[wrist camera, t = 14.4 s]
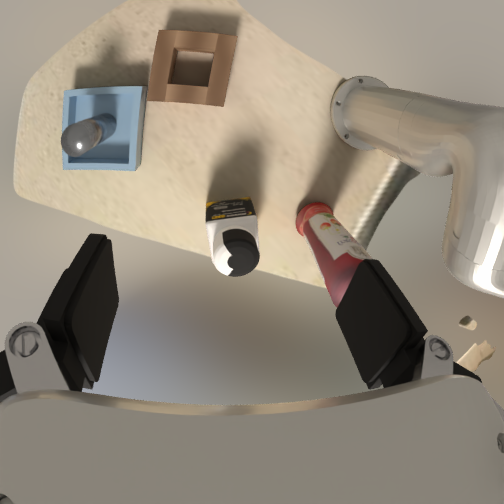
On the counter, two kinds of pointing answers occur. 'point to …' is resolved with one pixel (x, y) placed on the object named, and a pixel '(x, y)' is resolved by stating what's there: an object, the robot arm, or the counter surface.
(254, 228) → the medicine bottle
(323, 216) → the liquor
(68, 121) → the tray
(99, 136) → the peg
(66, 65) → the counter surface
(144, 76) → the counter surface
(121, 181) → the counter surface
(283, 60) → the counter surface
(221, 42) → the hole block
